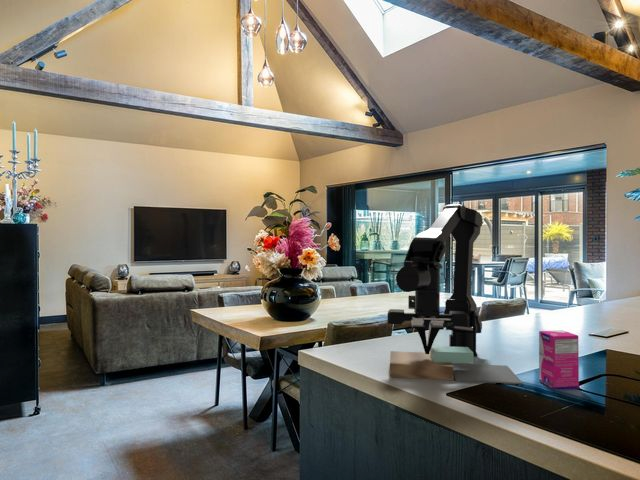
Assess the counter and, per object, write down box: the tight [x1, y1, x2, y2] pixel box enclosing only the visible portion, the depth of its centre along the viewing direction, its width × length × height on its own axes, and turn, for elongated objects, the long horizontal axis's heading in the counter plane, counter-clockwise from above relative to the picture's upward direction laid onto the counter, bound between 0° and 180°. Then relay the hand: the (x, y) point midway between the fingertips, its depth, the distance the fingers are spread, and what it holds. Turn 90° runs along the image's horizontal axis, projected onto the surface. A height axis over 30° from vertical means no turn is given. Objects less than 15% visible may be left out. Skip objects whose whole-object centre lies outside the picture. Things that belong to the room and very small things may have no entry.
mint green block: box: [429, 345, 475, 364], centre depth 108 cm, size 9×6×2 cm, turn 84°
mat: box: [452, 363, 524, 386], centre depth 107 cm, size 14×14×1 cm
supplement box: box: [538, 329, 580, 390], centre depth 99 cm, size 6×6×12 cm
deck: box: [389, 350, 454, 381], centre depth 109 cm, size 14×12×3 cm
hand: (427, 353), depth 109 cm, fingers closed
